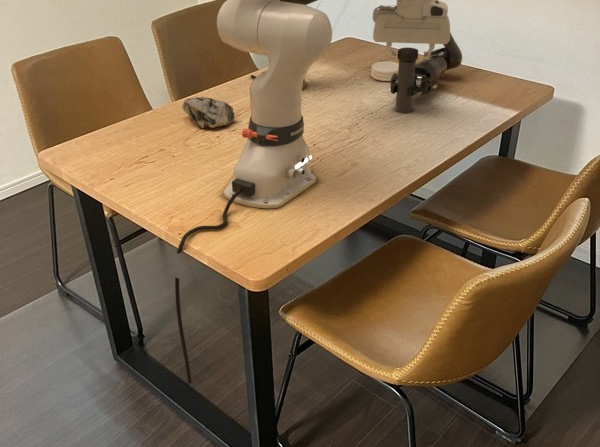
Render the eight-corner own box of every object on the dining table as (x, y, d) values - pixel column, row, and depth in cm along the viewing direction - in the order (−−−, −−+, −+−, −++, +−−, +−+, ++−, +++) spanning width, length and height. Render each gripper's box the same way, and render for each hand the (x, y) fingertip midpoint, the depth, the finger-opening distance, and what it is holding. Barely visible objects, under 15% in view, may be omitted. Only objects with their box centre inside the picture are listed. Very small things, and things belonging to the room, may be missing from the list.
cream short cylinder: (368, 72, 203) (368, 61, 202) (398, 70, 204) (398, 60, 202) (374, 82, 195) (374, 71, 193) (405, 81, 196) (406, 70, 194)
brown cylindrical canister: (406, 114, 174) (411, 56, 165) (392, 110, 176) (396, 53, 167) (414, 109, 177) (419, 52, 168) (400, 105, 179) (405, 49, 170)
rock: (239, 121, 170) (237, 97, 166) (209, 132, 164) (207, 107, 160) (207, 109, 179) (204, 85, 175) (178, 118, 173) (174, 94, 169)
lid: (421, 60, 167) (422, 52, 166) (403, 62, 165) (403, 54, 164) (411, 54, 171) (412, 46, 170) (393, 56, 170) (394, 48, 169)
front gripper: (372, 8, 159) (370, 61, 167) (453, 10, 157) (447, 63, 164) (373, 2, 165) (371, 53, 172) (452, 4, 162) (446, 56, 169)
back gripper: (403, 57, 184) (378, 74, 172) (449, 65, 178) (426, 83, 166) (401, 82, 188) (376, 100, 176) (446, 90, 182) (424, 109, 170)
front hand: (409, 58), depth 168 cm, fingers open, 8 cm apart
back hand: (401, 92), depth 171 cm, fingers closed on brown cylindrical canister, 4 cm apart
